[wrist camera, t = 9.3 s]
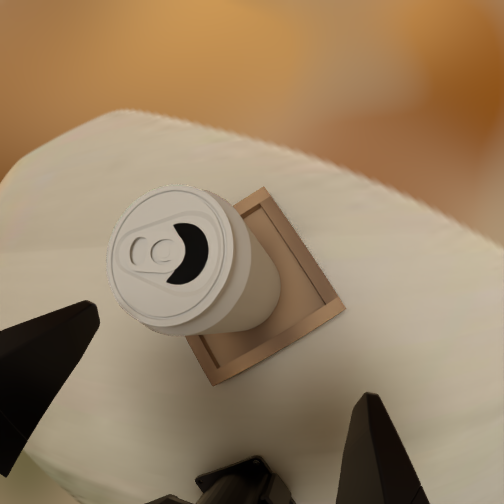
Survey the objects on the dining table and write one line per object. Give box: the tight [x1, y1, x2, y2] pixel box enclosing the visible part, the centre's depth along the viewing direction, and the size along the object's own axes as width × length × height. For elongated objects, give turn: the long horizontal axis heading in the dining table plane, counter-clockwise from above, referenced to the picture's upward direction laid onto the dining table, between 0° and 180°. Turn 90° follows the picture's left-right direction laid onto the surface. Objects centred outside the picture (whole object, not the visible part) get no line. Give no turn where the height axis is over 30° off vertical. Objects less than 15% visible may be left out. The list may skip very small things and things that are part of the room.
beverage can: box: [106, 184, 281, 336], centre depth 17 cm, size 6×6×12 cm
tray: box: [185, 187, 346, 386], centre depth 22 cm, size 11×11×2 cm
